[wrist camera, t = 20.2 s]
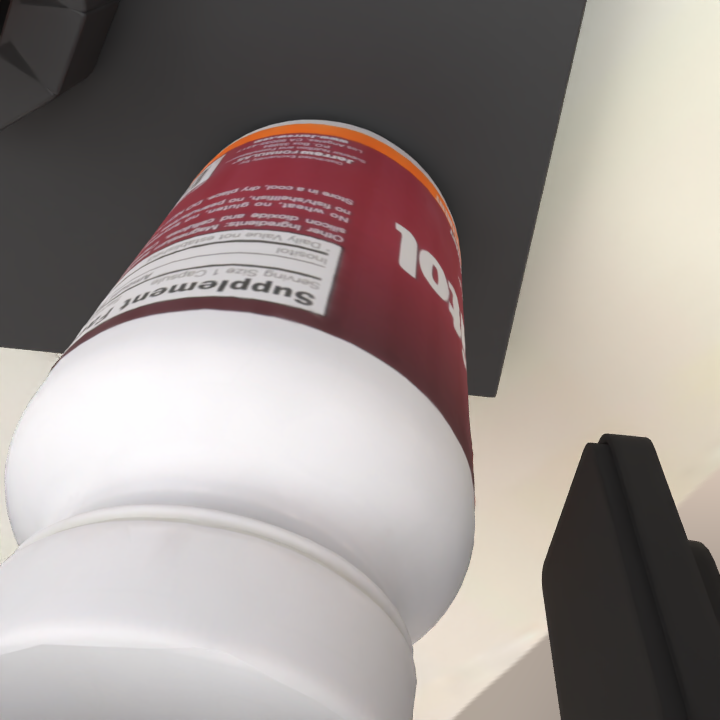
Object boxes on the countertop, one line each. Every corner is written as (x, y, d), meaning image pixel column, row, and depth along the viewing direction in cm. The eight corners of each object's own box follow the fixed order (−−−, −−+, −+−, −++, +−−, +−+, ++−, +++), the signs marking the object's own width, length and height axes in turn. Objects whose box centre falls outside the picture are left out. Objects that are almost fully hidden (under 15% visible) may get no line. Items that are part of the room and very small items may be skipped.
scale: (-23, 314, 19) (-88, 380, 17) (-231, -296, 12) (-402, -331, 9) (492, 366, 19) (500, 442, 16) (624, -242, 11) (675, -266, 9)
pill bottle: (464, 354, 17) (491, 906, 8) (222, 361, 18) (9, 868, 9) (458, 93, 13) (495, 589, 4) (153, 119, 14) (-321, 576, 5)
